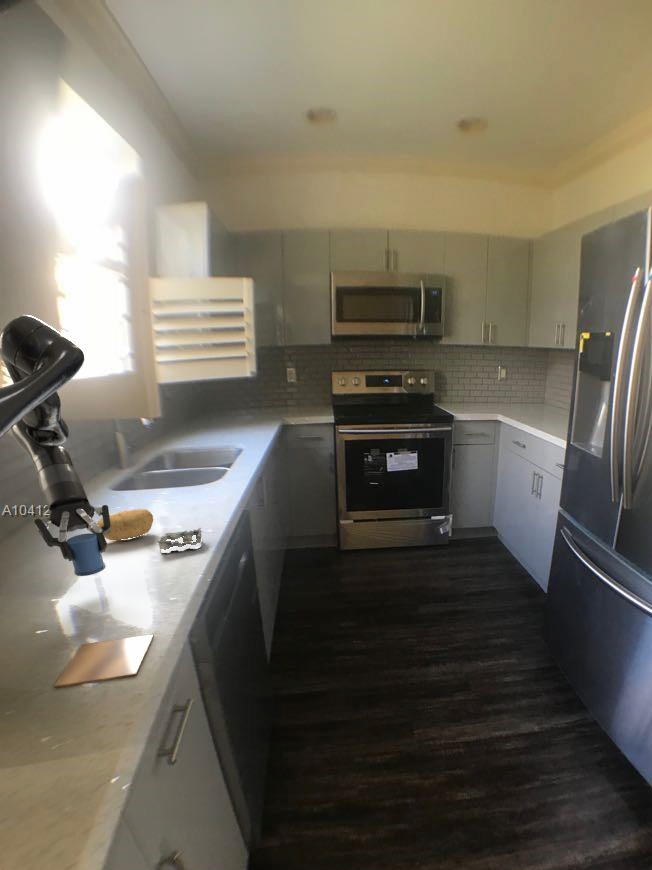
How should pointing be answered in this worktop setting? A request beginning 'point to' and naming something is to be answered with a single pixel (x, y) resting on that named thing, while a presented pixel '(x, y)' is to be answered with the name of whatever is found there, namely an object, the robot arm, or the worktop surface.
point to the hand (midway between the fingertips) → (87, 554)
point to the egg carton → (186, 539)
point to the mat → (106, 661)
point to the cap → (86, 554)
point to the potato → (128, 524)
